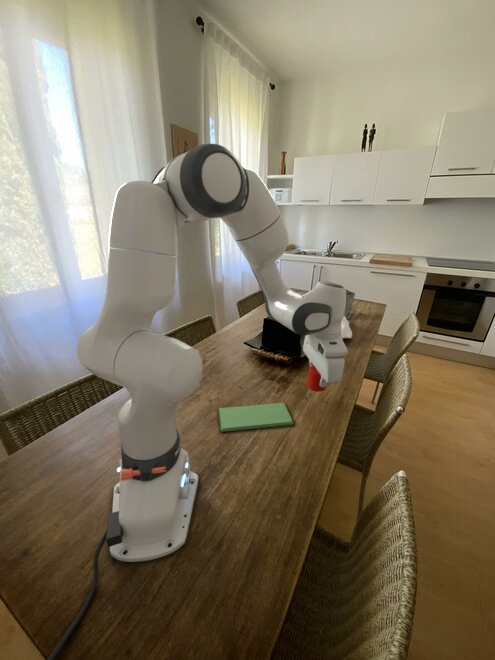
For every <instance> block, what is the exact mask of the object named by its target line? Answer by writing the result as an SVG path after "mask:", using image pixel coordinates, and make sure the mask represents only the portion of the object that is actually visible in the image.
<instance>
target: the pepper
mask: <svg viewBox="0 0 495 660" xmlns="http://www.w3.org/2000/svg"><path fill="white" fill-rule="evenodd" d="M321 378H322V377H321V374H320V373H319V372H318V370H317V369H316V368H315V366H314V365H313V366H311V367H310V366H309V368H308V374H307V383H306V386H307V388H308V389H309V390H310V391H313V392H316V393H322V392H324V391H326V389H327V385H326V386H325V387H320V385H319V384H318V382H319V379H321ZM326 384H328V383H327V382H326Z"/></svg>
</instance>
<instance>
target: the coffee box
mask: <svg viewBox="0 0 495 660" xmlns="http://www.w3.org/2000/svg"><path fill="white" fill-rule="evenodd" d="M345 291H346V306H345V312H344V316H345V318H346V319H347V320H348V319H351V315H352V310H353V305H354V299H355V294H356V293H355V292H352V291H350V290H348V289H346V288H345Z"/></svg>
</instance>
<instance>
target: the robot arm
mask: <svg viewBox="0 0 495 660" xmlns="http://www.w3.org/2000/svg"><path fill="white" fill-rule="evenodd" d="M218 218H219V219H220V220H221V221H223V222H224V224H225V225H226V226H227V228H228V231H229V232H230V234H231V236H232V238H233V240H234V241H235V243H236V245H237V247H238V249H239V250H240V251H241V253H242V254H243V256H244V258H245V259H246V261H247V263H248V265H249V266H250V269H251V271H252V273H253V275H254V277H255V280H256V282H257V283H258V285H259V287H260V290H261V293H262V294H263V298H264V306H265V307H264V308H265V312H266V314H267V316H268V317H269V318H270V319H271V320H273V321H275V322H277V323H279V324H281V325H282V326H284V327H285V328H287V329H288V330H290V331H292V332H293V333H295V334H297V335H299V336H304V341H303V346H302V349H303V353H304V354H305V356H306V357H307V358H308V363H309V368H310V367H311V366H313V365H314V366H315V368H316V369H317V370H318V372H319V373H320V374H321V377H322V378H321V379H319V382H318V384H319V385H320V387H325V386H326V387H327V384H339V383H341V381H342V378H343V374H344V370H345V364H346V363H345V362H346V361H345V357H347V356H348V352H349V351H348V350H349V349H348V348H347V346H346V344H345V342H344V339H342V336H340V335H341V321H342V319H343V317H344V312H345V306H346V291H345V289H346V288H345V287H344V286H343V285H341V284H339V283H335V282H331V281H327V280H321V281H320V280H319V281H318V282H317V283H316V285H315V286H314V287H313V288H312V289H311V290H310V291H308V292H306V293H304V294H300V293H298V292H296V291H294V290H293V289H291V288H290V287H288V286H287V285H286V284H285V283H284V280H283V278H282V275H281V273H280V270H279V268H278V266H277V262H276V261H277V260H279V259H280V258H281V257H282V256H283V255H284V253H285V252H286V250H287V247H288V245H289V241H290V238H289V233H288V229H287V225H286V223H285V221H284V218H283V215H282V213H281V211H280V209H279V207H278V205H277V203H276V201H275V199H274V197H273V195H272V193H271V191H270V190H269V188H268V187H267V185H266V184H265V182H264V181H263V179H262V178H261V176H260V175H259V174H258V173H257V172H256V171H255V170H254V169H251V168H248V167H247V168H245V167H244V166H243V165H242V164H241V161H239V159H238V158H237V156H235V154H234V153H233V152H232V151H231V150H229V149H228V148H227V147H225V146H223V145H220V144H218V143H203V144H199V145H195V146H194V147H192V148H191V149H190V150H188V151H185V152H184V153H181V154H178V155H176V156H175V157H174V158H172V159H171V160H170V161H169V162H167V164H166V165H165V166H162V168H160V170H158V172H157V173H156V174H155V175H154V178H153V179H152V180H151V181H148V180H131V181H128V182H125V183H124V184H122V185H121V186H120V187H119V188H118V190H117V191H116V193H115V197H114V202H113V205H112V210H111V215H110V223H109V230H108V249H107V250H108V251H107V253H108V254H107V274H106V275H107V276H106V289H105V296H104V301H103V304H102V308H101V310H100V313H99V315H98V318H97V319H96V321H95V322H94V324H92V326H90V327H89V328H87V329H86V330H85V331H84V332H83V334H82V335H81V336H80V338H79V340H78V343H77V346H76V356H77V360H78V362H79V363H80V365H82V366H83V367H84V368H85V369H86V370H88V371H89V372H90V373H91V374H93V375H94V376H96V377H97V378H99V379H102V380H105V381H107V382H108V383H109V382H110V383H111V384H114V385H116V386H117V385H118V386H120V387H122V388H124V389H125V390H126V391H127V392H128V393H129V395H130V398H129V399H128V400H127V401H126V402H125V403H124V405H122V407H121V409H120V410H119V412H118V414H117V418H116V419H117V428H118V431H119V436H120V441H121V443H120V459H119V461H118V463H119V467H118V468H117V469H116V471H117V473H119V482H117V483H116V484H115V485H114V487H113V493H112V494H113V495H112V496H113V497H112V510H111V512H110V513H108V519H107V527H106V530H105V533H104V534H103V536H102V538H101V539H100V540H99V543H98V545H97V548H96V550H95V553H94V556H93V563H92V564H93V580H92V584H91V587H90V589H89V593H88V595H87V598H86V600H85V601H84V604H83V605H82V607H81V609H80V610H79V612H78V614H77V615H76V617H75V618H74V620H73V621H72V623H71V625H70V626H69V627H68V628H67V630H66V631H65V633H64V634H63V636H62V637H61V639H60V640H59V641H58V643H57V645H56V646H55V647H54V649H53V650H52V651H51V653H50V655H49V656H48V658H47V659H46V660H54V659H55V658H56V657H57V654H59V652H60V650H61V649H62V647H63V646H64V644H65V643H66V642H67V640H68V638H69V637H70V635H71V634H72V633H73V632H74V630H75V628H76V626H77V625H78V624H79V622H80V620H81V619H82V618H83V616H84V614H85V613H86V611H87V609H88V607H89V605H90V603H91V601H92V599H93V596H94V593H95V591H96V588H97V586H98V582H99V557H100V553H101V551H102V548H103V546H104V544H105V542H106V543H107V547H108V548H109V554H110V556H111V557H112V558H113V559H115V560H118V561H120V562H126V563H139V562H147V561H152V560H156V559H160V558H163V557H165V556H168V555H171V554H172V553H174V552H176V551H177V550H179V549H180V548H182V546H183V545H185V544H186V541H187V537H188V534H189V533H188V532H189V529H190V524H191V520H192V514H193V509H194V504H195V500H196V495H197V490H198V486H199V475H198V474H197V473H196V472H194V471H191V467H190V465H191V464H190V458H189V453H188V451H186V450H185V449H183V447H181V444H182V443H181V442H182V441H181V436H180V432H179V430H178V428H177V427H178V426H177V406H178V405H179V403H180V402H182V401H185V400H186V399H188V398H189V397H190V396H192V395H193V394H194V392H195V391H196V390H197V389H198V387H199V386H200V384H201V381H202V378H203V374H204V363H203V359H202V356H201V353H200V352H199V351H198V350H197V349H196V348H194V347H193V346H191V345H189V344H187V343H185V342H184V341H181V340H180V339H177V338H176V337H171V336H167V335H163V334H159V333H156V332H152V329H151V327H152V322H153V320H154V317H155V315H156V313H158V312H159V311H161V310H163V309H165V308H166V307H168V306H169V305H171V303H172V302H173V300H174V298H175V293H176V292H175V291H176V278H177V263H178V247H179V246H178V245H179V244H178V240H179V236H180V232H181V230H182V227H183V225H184V224H186V223H189V222H195V223H202V222H206V221H210V220H213V219H218ZM326 382H327V383H326Z"/></svg>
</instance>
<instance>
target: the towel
mask: <svg viewBox="0 0 495 660" xmlns="http://www.w3.org/2000/svg"><path fill="white" fill-rule="evenodd" d="M218 414H219V415H218V417H219V425H220V432H221V433H224V432H235V431H245V430H252V429H253V430H255V429H265V428H273V427H284V426H285V427H286V426H295V425H294V424H295V423H294V420H293V418H292V416H291V414H290V412H289V410H288V407H287V405H286V403H285V402H276V403H275V402H274V403H263V404H252V405H240V406H228V407H219V408H218Z"/></svg>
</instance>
